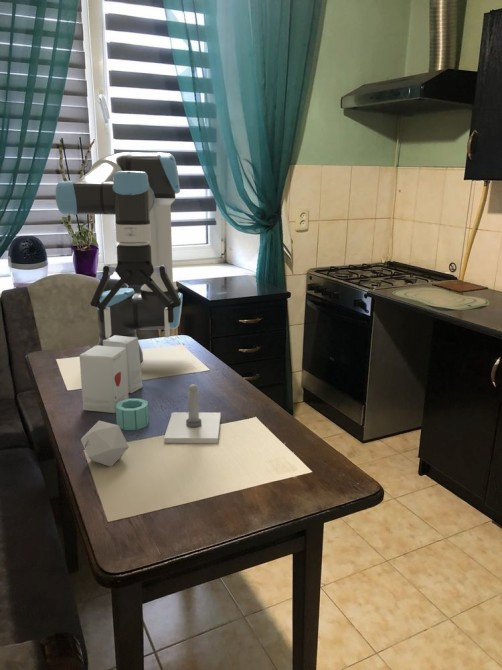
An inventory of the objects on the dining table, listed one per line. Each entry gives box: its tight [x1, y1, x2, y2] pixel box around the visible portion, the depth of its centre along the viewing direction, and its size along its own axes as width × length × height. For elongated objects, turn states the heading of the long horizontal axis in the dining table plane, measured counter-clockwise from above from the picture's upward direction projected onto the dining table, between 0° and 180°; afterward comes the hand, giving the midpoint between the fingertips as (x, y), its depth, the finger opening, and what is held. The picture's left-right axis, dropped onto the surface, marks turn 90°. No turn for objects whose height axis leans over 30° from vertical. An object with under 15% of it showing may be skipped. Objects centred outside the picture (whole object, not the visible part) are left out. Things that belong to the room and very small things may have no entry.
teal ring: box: [115, 398, 150, 431], centre depth 130 cm, size 7×7×5 cm
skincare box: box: [103, 335, 143, 394], centre depth 150 cm, size 8×6×15 cm
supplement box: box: [78, 345, 130, 414], centre depth 139 cm, size 9×9×15 cm
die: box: [80, 420, 130, 467], centre depth 112 cm, size 8×9×10 cm
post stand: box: [163, 383, 221, 444], centre depth 126 cm, size 14×12×11 cm
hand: (138, 336), depth 125 cm, fingers open, 13 cm apart
